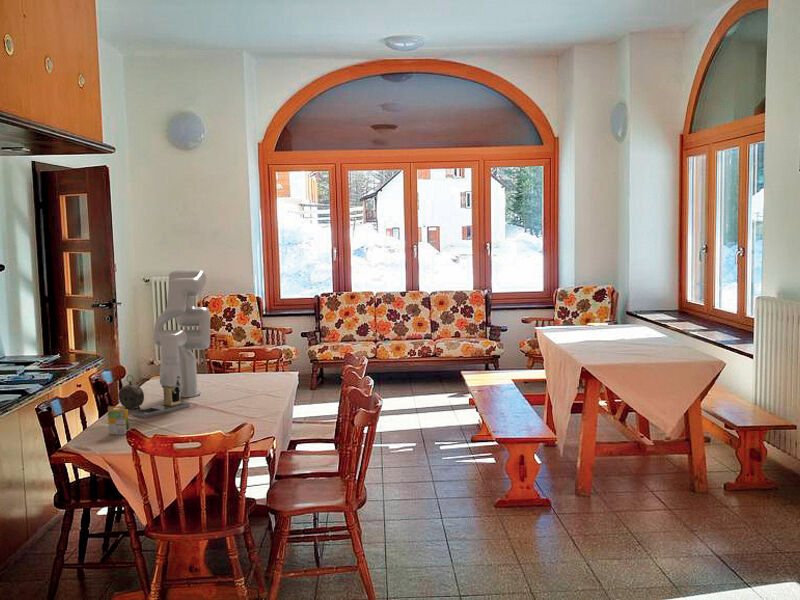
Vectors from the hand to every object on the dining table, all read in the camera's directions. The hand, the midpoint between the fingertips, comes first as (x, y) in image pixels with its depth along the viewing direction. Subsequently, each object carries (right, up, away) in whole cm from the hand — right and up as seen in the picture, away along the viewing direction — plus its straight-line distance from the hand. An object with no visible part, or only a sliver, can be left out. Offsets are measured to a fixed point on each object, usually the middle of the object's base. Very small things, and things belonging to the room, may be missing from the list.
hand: (172, 400), depth 381 cm
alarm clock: (-18, -5, +1) cm, 19 cm away
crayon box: (-12, -9, -37) cm, 40 cm away
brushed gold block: (0, -3, 0) cm, 3 cm away
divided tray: (-4, -5, -4) cm, 8 cm away
